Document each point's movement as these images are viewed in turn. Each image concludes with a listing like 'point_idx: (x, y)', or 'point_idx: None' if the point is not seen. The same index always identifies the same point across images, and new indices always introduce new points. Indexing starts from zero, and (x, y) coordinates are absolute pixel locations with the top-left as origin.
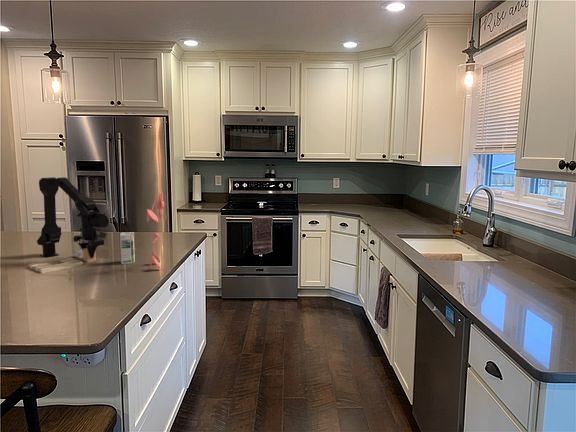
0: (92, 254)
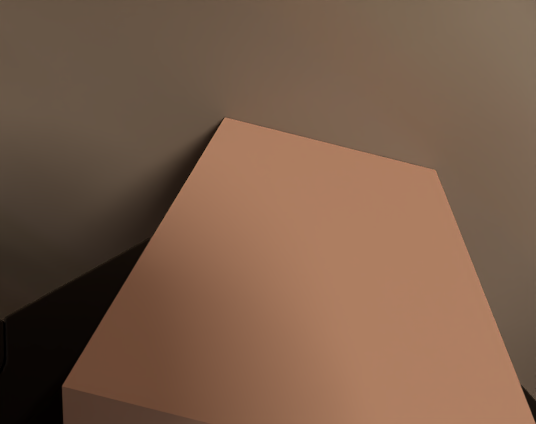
0: None
